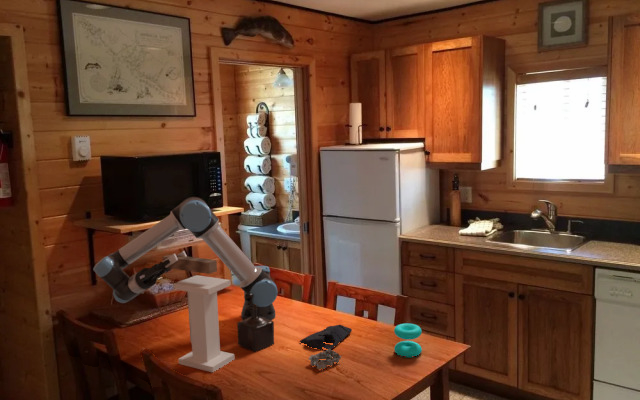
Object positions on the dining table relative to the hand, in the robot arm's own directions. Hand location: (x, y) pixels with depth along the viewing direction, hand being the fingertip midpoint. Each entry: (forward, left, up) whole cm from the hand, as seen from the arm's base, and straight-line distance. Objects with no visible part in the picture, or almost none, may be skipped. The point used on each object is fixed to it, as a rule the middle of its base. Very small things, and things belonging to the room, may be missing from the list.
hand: (180, 255), depth 199 cm
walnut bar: (-3, +3, -5) cm, 6 cm away
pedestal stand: (-7, +6, -39) cm, 40 cm away
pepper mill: (-25, -7, -38) cm, 46 cm away
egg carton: (-49, +19, -39) cm, 65 cm away
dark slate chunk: (-54, -3, -39) cm, 67 cm away
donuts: (-80, +17, -39) cm, 91 cm away
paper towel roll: (-5, -14, -39) cm, 42 cm away
